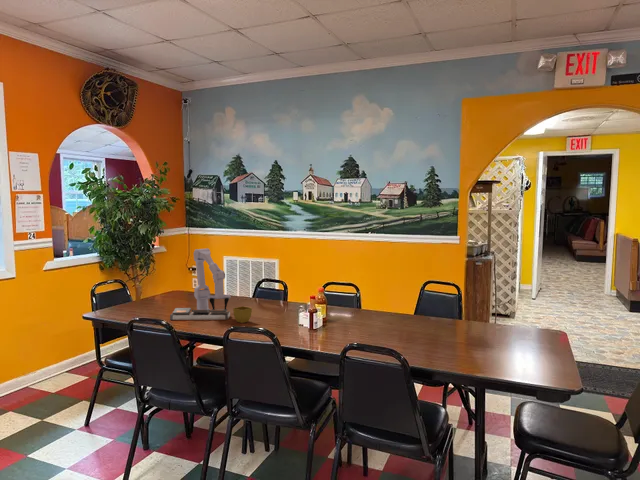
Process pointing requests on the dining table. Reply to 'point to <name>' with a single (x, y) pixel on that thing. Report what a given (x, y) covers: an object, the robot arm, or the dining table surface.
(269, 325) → the dining table surface
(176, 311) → the grey rectangular frame
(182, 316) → the grey switch panel
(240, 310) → the flower pot
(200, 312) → the rocker
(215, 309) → the panel
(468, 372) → the dining table surface
